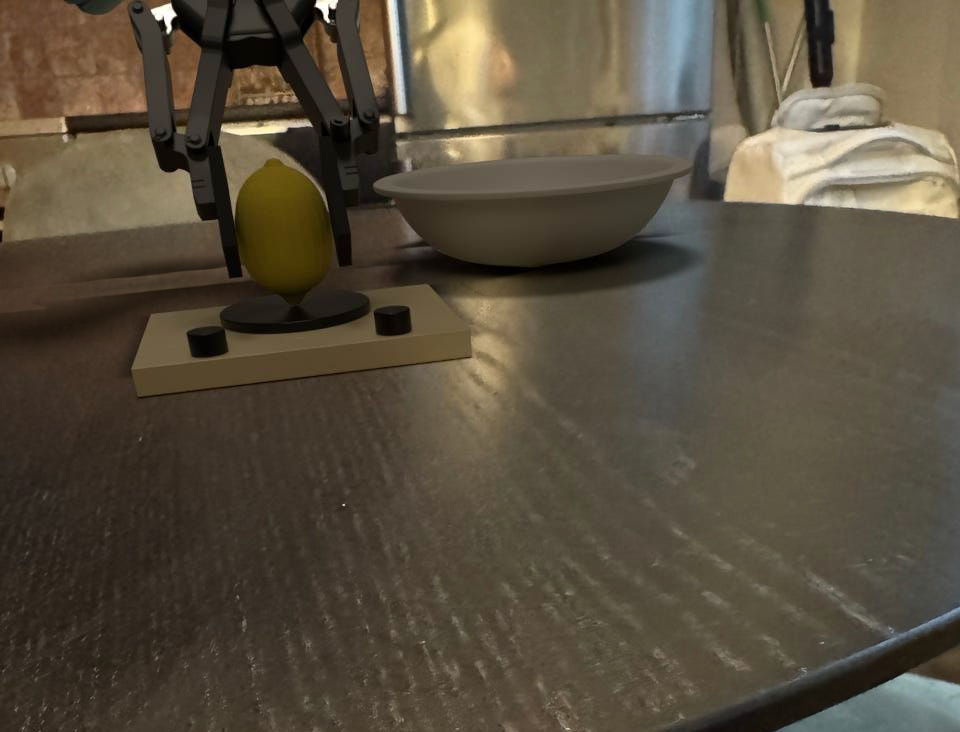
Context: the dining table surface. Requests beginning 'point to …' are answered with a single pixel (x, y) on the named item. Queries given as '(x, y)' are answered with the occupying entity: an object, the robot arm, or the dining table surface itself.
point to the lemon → (283, 231)
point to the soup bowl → (533, 205)
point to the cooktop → (296, 338)
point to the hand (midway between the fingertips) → (289, 256)
